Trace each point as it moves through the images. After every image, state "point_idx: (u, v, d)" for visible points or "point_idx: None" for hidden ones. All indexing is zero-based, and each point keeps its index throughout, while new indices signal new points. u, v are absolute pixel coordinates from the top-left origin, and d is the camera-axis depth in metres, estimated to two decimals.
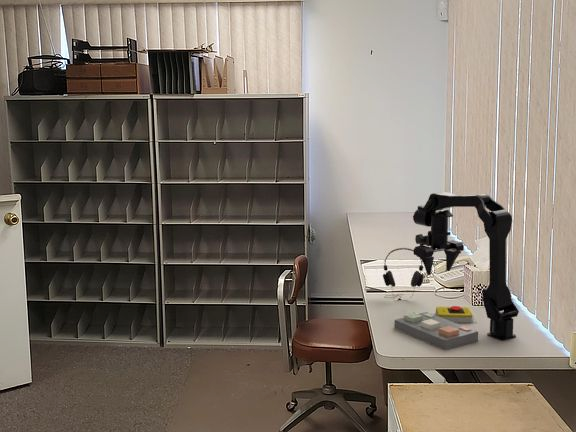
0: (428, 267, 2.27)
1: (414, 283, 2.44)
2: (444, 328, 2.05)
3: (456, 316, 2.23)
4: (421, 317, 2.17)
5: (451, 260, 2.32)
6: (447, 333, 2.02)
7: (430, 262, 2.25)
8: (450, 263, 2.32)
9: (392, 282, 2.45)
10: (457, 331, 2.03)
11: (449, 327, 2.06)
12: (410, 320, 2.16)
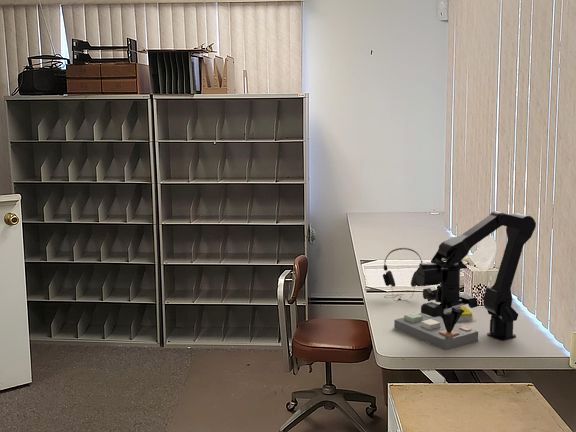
0: (448, 324, 2.02)
1: (414, 283, 2.44)
2: (444, 331, 2.05)
3: None
4: (421, 317, 2.17)
5: (453, 320, 2.03)
6: (447, 336, 2.02)
7: (451, 319, 2.01)
8: None
9: (392, 282, 2.45)
10: (457, 334, 2.03)
11: None
12: (410, 320, 2.16)
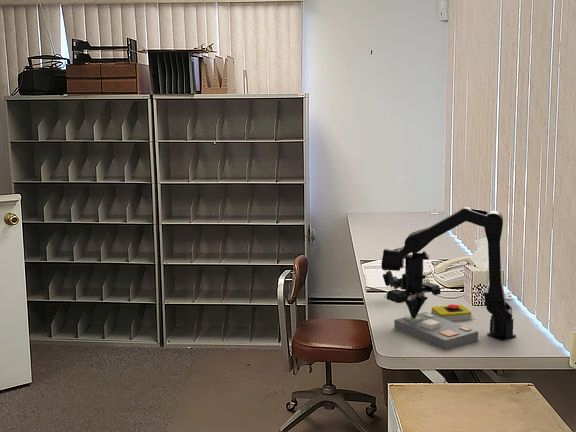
0: (412, 310, 2.16)
1: None
2: (444, 332, 2.05)
3: (456, 315, 2.25)
4: (421, 319, 2.17)
5: (417, 307, 2.16)
6: None
7: (415, 305, 2.14)
8: (416, 310, 2.17)
9: None
10: None
11: (449, 331, 2.06)
12: None
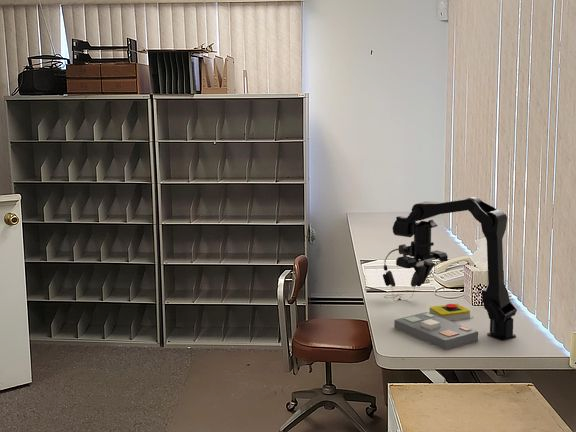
0: (421, 276, 2.25)
1: (414, 283, 2.44)
2: (444, 332, 2.05)
3: (456, 314, 2.26)
4: None
5: (425, 273, 2.26)
6: None
7: (423, 271, 2.24)
8: None
9: (392, 282, 2.45)
10: None
11: (449, 331, 2.06)
12: None
